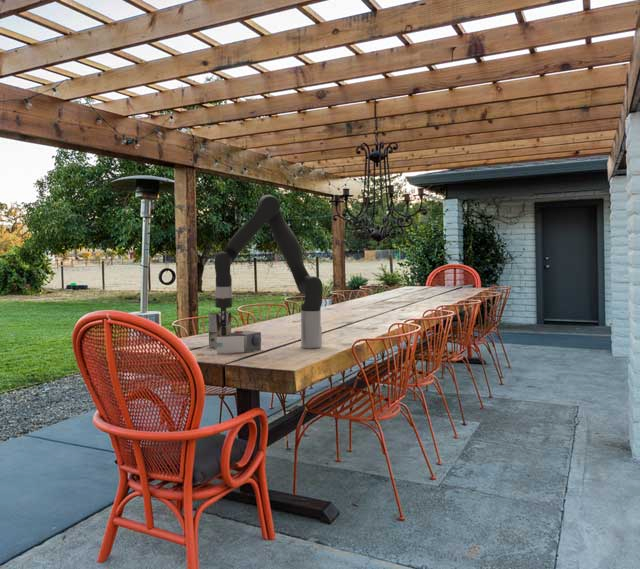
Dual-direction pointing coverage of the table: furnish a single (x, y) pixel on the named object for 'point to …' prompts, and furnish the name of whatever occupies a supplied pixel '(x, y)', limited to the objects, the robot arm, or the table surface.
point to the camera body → (249, 339)
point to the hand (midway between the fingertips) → (223, 335)
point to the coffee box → (217, 328)
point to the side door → (231, 344)
